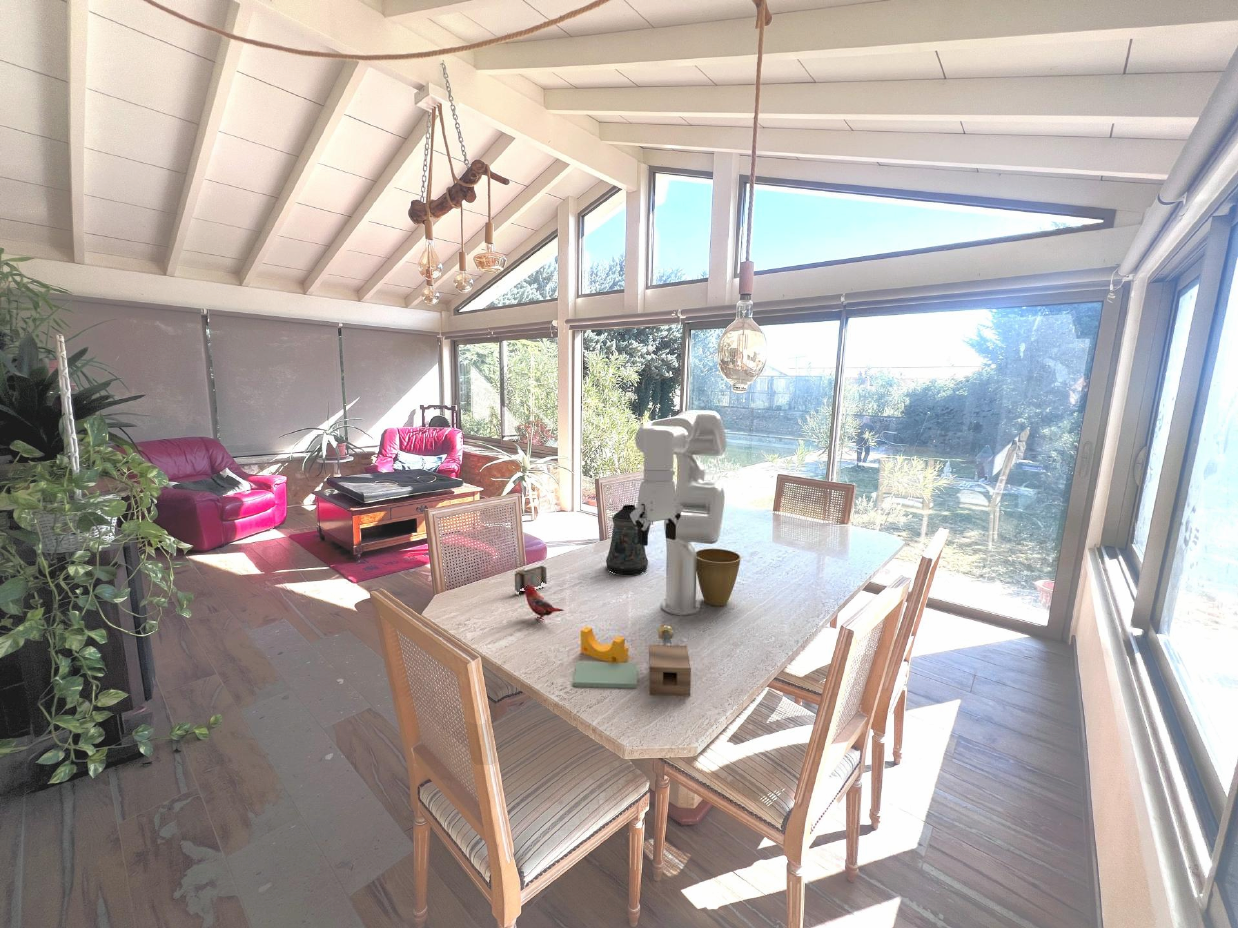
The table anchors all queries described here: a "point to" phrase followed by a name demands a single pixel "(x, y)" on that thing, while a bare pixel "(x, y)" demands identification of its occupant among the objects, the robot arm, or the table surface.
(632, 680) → the plate
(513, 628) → the table surface
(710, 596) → the plant pot
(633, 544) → the beer stein
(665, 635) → the shaft
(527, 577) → the grey upright flat frame
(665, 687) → the shaft housing
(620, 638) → the pipe clamp
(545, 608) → the decorative bird figurine
